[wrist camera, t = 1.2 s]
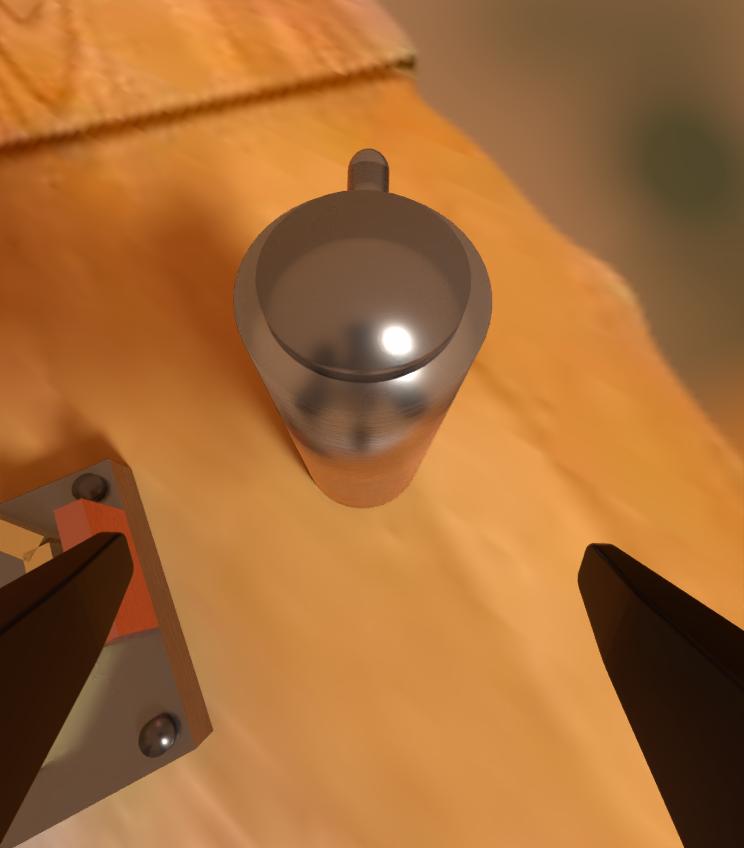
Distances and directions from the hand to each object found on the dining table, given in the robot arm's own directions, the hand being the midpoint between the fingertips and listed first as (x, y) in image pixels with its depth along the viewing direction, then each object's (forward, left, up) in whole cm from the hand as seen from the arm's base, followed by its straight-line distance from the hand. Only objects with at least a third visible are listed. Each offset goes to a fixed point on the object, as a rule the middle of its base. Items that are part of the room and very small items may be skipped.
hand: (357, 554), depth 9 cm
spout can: (+6, -3, -12) cm, 14 cm away
